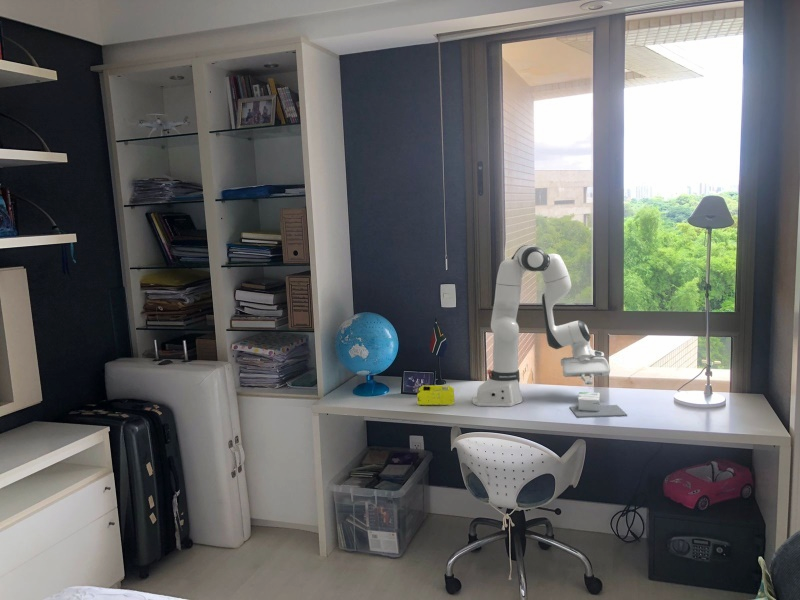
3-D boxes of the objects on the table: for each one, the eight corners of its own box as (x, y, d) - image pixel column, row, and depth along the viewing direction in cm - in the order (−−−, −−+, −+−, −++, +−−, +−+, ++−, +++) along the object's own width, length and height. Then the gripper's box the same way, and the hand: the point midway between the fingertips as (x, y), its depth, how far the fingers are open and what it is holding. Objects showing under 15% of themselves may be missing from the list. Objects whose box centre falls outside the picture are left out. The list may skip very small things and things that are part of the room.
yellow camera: (454, 403, 291) (453, 385, 290) (453, 406, 285) (452, 388, 284) (419, 403, 293) (418, 385, 292) (417, 406, 288) (416, 388, 287)
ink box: (579, 402, 279) (577, 410, 268) (579, 391, 279) (577, 398, 267) (600, 403, 276) (599, 411, 265) (600, 392, 276) (599, 400, 265)
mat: (577, 417, 261) (577, 416, 260) (569, 407, 274) (569, 406, 274) (627, 415, 260) (627, 414, 260) (616, 406, 274) (616, 404, 274)
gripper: (560, 354, 286) (565, 380, 277) (607, 352, 285) (613, 379, 276) (558, 361, 291) (563, 388, 282) (604, 360, 290) (610, 386, 281)
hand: (588, 383), depth 279 cm, fingers closed
